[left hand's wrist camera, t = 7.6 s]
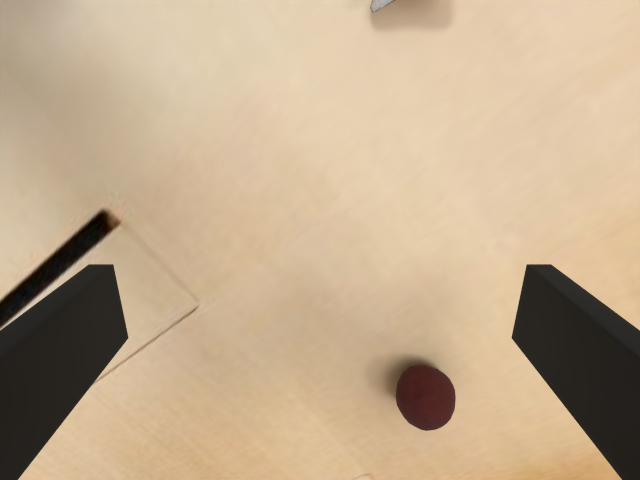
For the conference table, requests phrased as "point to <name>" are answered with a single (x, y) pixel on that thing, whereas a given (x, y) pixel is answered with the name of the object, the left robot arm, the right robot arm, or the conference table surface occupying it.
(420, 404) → the dark red ball
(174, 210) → the conference table surface
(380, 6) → the fish
